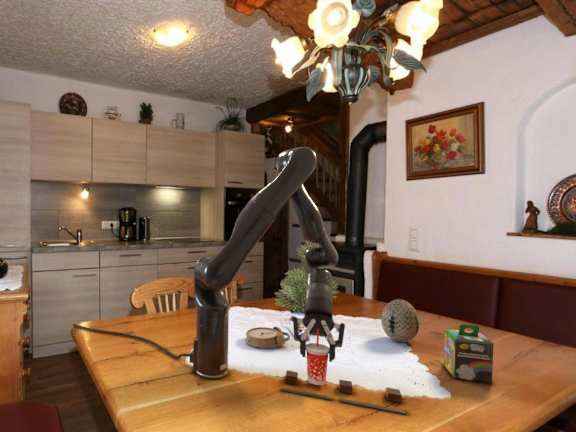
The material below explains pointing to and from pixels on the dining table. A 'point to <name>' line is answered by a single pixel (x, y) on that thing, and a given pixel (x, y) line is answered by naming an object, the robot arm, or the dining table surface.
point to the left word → (293, 378)
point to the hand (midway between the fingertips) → (317, 358)
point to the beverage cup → (317, 362)
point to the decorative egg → (400, 320)
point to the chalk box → (468, 354)
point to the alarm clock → (266, 337)
